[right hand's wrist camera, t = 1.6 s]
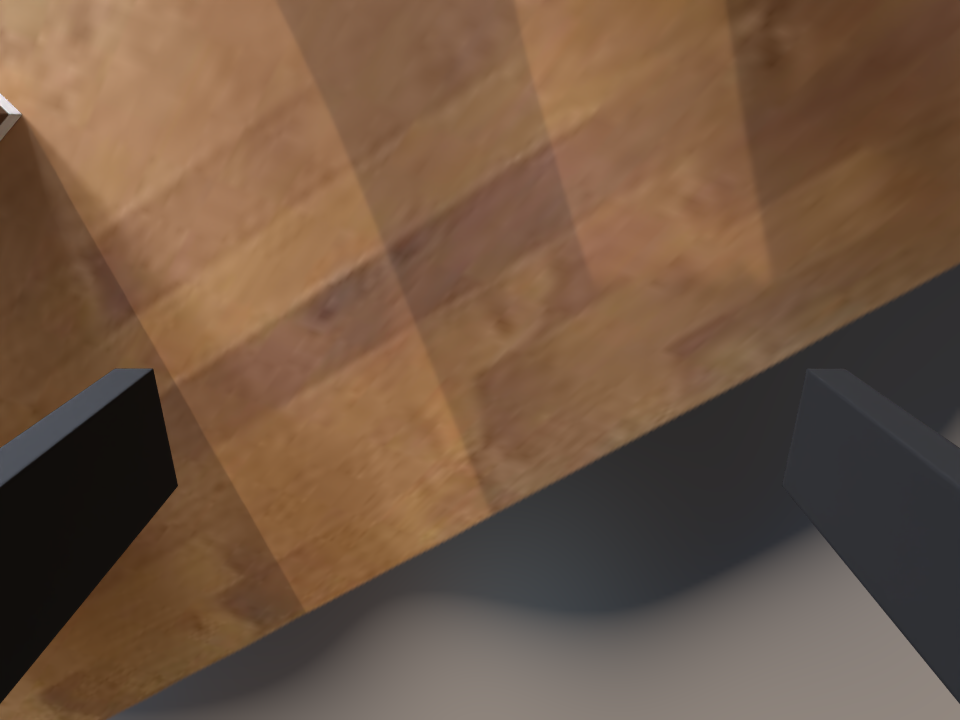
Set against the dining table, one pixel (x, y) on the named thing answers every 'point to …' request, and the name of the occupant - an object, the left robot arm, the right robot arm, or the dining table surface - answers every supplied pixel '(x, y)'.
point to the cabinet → (7, 116)
